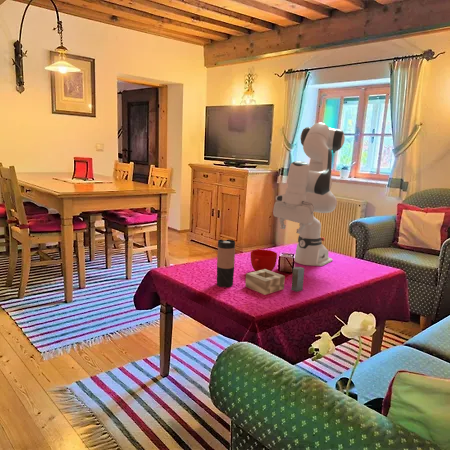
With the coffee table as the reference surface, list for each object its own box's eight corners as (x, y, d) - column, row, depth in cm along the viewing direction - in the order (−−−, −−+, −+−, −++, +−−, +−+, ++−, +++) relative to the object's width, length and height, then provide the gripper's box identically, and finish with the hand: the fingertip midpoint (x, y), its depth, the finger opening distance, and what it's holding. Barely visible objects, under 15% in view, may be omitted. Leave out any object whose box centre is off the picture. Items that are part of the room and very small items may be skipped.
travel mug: (227, 288, 174) (229, 244, 170) (212, 285, 178) (214, 241, 174) (236, 284, 180) (238, 240, 176) (222, 280, 184) (223, 238, 180)
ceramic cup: (241, 275, 192) (242, 255, 190) (255, 267, 207) (256, 248, 205) (266, 280, 186) (268, 260, 184) (279, 271, 201) (280, 252, 199)
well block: (264, 281, 186) (265, 269, 184) (283, 289, 177) (284, 276, 175) (245, 286, 178) (246, 273, 177) (264, 294, 169) (265, 281, 168)
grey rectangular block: (297, 288, 179) (298, 266, 177) (302, 290, 176) (304, 268, 174) (291, 289, 176) (292, 268, 174) (296, 291, 174) (298, 269, 172)
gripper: (319, 203, 167) (314, 236, 169) (282, 196, 182) (278, 226, 184) (309, 203, 163) (304, 236, 165) (273, 195, 178) (269, 226, 180)
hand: (290, 231), depth 175 cm, fingers open, 8 cm apart
